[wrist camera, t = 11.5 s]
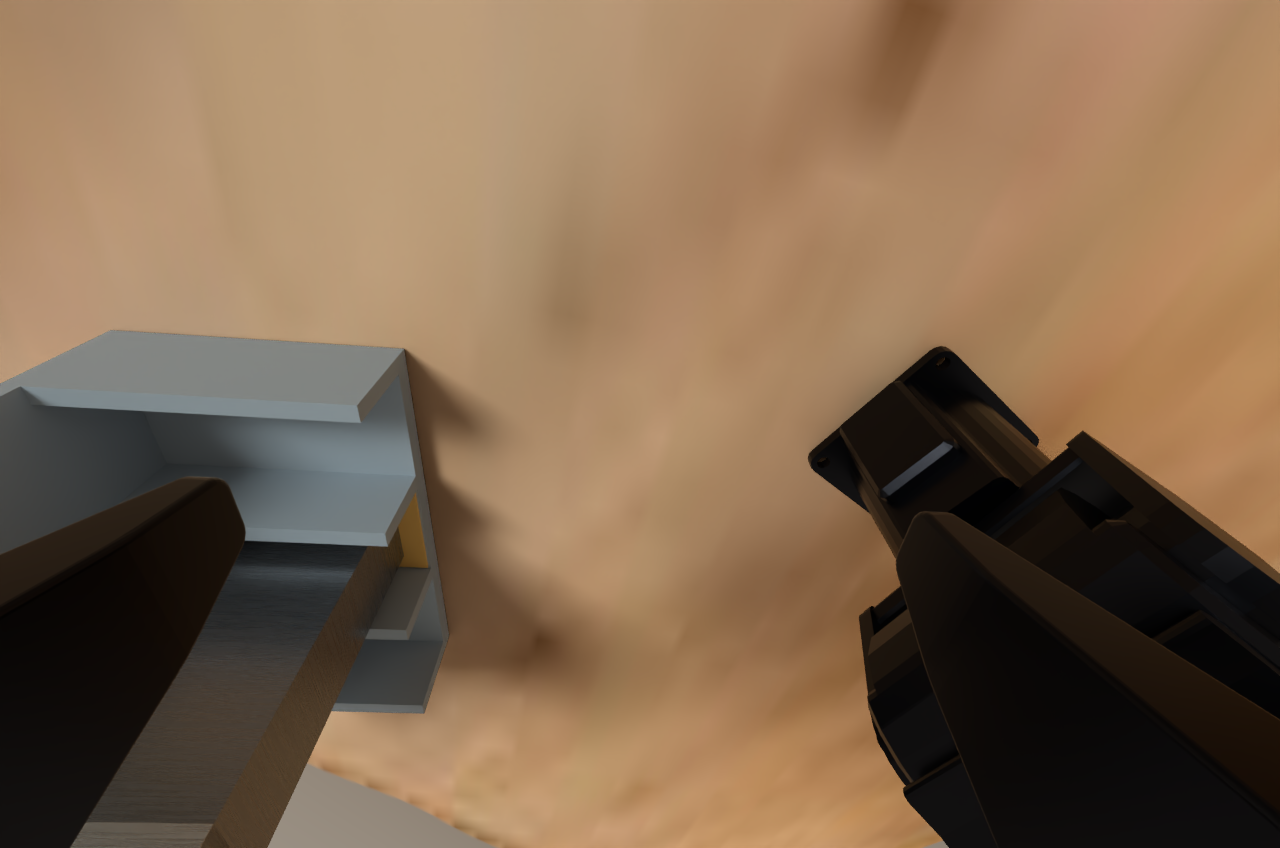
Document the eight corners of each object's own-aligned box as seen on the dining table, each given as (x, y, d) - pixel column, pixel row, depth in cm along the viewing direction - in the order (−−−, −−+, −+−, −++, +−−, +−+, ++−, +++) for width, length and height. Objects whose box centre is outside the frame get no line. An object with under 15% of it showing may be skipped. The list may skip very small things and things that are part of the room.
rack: (404, 348, 19) (167, 633, 9) (449, 635, 28) (348, 951, 18) (109, 329, 19) (-477, 612, 9) (244, 628, 27) (19, 951, 17)
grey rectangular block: (392, 500, 22) (188, 866, 12) (404, 556, 23) (233, 920, 13) (208, 492, 21) (-169, 863, 11) (232, 549, 23) (-80, 920, 13)
